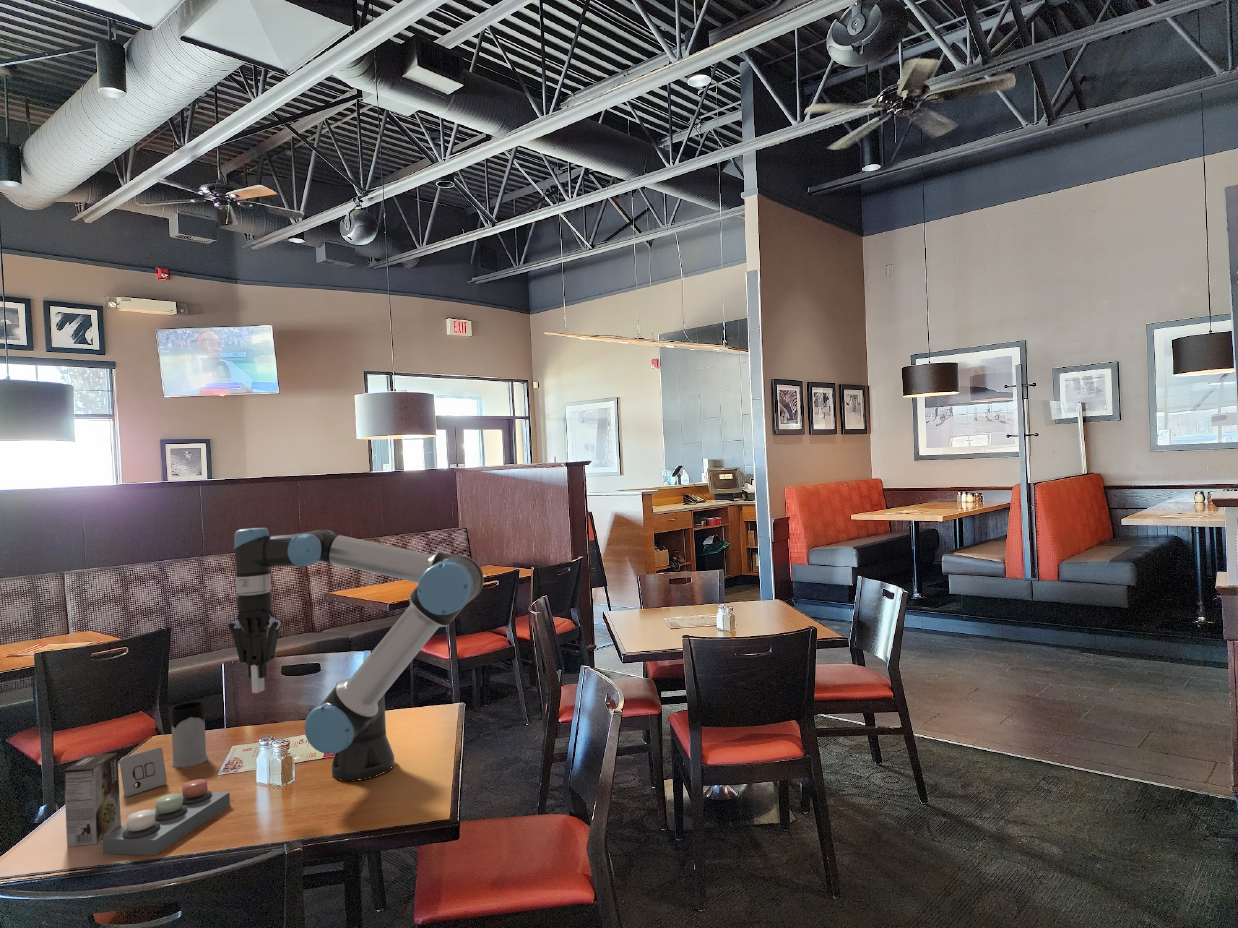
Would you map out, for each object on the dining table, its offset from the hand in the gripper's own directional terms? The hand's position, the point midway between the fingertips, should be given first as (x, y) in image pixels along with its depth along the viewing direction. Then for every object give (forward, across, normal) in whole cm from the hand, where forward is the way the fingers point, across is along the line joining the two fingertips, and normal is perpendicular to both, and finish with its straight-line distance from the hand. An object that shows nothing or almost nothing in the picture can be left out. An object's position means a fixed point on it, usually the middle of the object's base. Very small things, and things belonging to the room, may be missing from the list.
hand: (258, 691), depth 183 cm
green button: (+20, -10, -18) cm, 29 cm away
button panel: (+24, -10, -18) cm, 32 cm away
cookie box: (+25, -25, -22) cm, 41 cm away
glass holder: (+25, -37, +22) cm, 50 cm away
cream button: (+20, -10, -26) cm, 34 cm away
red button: (+20, -10, -10) cm, 25 cm away
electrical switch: (+25, -34, +2) cm, 42 cm away
